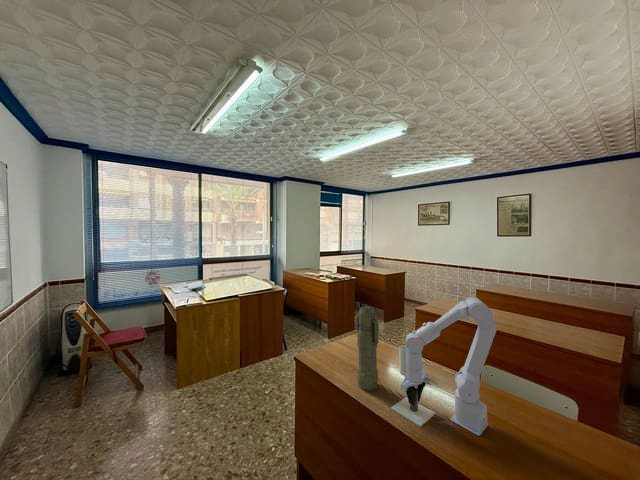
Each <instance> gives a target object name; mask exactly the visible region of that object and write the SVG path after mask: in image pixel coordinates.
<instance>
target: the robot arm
mask: <svg viewBox="0 0 640 480" xmlns="http://www.w3.org/2000/svg"><path fill="white" fill-rule="evenodd" d="M470 318H471V319H472V320H474V322H475V323H476V326H477V329H476V331H475V334H474V337H473V340H472V342H471V346H470V349H469V352H468V355H467V357H466V359H465V362H464V365H463V366H462V367H460V369H459V371H458V372H457V373H456V374H455V375H454V382H455V383H454V384H455V385H456V390H455V391H454V414H453V416H451V418H450V421H451V422H453V423H454V424H457V425H458V426H460V427H461V428H463V429H465V430H467V431H469V432H471V433H472V434H474V435H476V436H481V435H482V433H483V432H485V430H486V428H487V427H488V426H489V423H488V406H487V405H486V404H485V403H484V402H482V401H481V400H480V398H481V396H480V387H481V374H482V371H483V368H484V365H485V362H486V360H487V358H488V355H489V352H490V349H491V348H492V347H491V346H492V344H493V340H494V338H495V336H496V333H497V329H498V328H497V324H496V321H495V318H494V312H493V311H492V310H491V309H490V307H488V306H487V304H485V303H483V302H482V300H481V299H480V298H478V297H476V296H467V297H466V298H465V299H464V300H461V301H459V302H458V303H457V304H456V305H454V307H452V308H451V309H449V310H448V311H447V312H446V313H444V314H443V315H442V316H441V317H439V318H438V319H437V320H435V321H434V322H433V321H428V322H427V323H426V322H424V323H422V326H420V327H419V328H418V329H416V330H415V329H414V330H413V331H412V332H410V333H408V334H407V335H406V336H405V346H406V347H407V348H406V351H407V352H406V373H405V374H404V375H403V377H404V379H403V381H402V382H401V383H400V389H401V390H402V391H403V392H405V393H406V397H407V398H408V401H409V403H410V404H411V405H413V406H414V405H415V401H416V394H417V392H418V403H419V402H420V401H421V397H422V393H423V390H424V389H425V387H426V385H427V384H426V382H425V381H424V380H425V379H426V378H427V371H424V370H423V355H422V354H423V353H422V351H423V349H424V346H427V345H428V344H429V343H431V342H432V341H434V340H436V339H437V338H439V337H440V336H441V331H442V330H443V329H445V328H448V327H449V326H451V325H452V324H454V323H456V322H457V321H458V320H464V321H471V319H470ZM414 385H418V389H417V388H415V387H414Z"/></svg>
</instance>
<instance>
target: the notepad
mask: <svg viewBox="0 0 640 480" xmlns="http://www.w3.org/2000/svg"><path fill="white" fill-rule="evenodd" d="M391 411H394V412H396V413H397V414H399V415H401V416H402V417H404V419H407V420H409V421H410V422H412V423H413V424H415V425H416V426H418V427H420V428H421V427H422V426H423V425H424V424H425V423H427V422H428V421H430V420H431V418H432V417H434V416H435V414H436V412H434V411H433V410H431V409H428V408H427V407H425V406H423V405H422V404H420V403H418V411H417V412H413V411H411V410H410V403H409V401H408V397H407V396H406V397H404V398H403V399H402V398H401V400H399V401H398V402H397V403H394V405H392V406H391Z"/></svg>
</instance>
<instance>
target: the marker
mask: <svg viewBox="0 0 640 480" xmlns="http://www.w3.org/2000/svg"><path fill="white" fill-rule="evenodd" d="M414 387H415V388H417V389H418V385H414ZM418 404H419V402H418V392H417V394H416V401H415V405H414V406H413V405H411V404H410V410H411V411H413V412H417V411H418Z"/></svg>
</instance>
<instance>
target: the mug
mask: <svg viewBox="0 0 640 480" xmlns="http://www.w3.org/2000/svg"><path fill="white" fill-rule="evenodd" d="M406 348H407V347H406V345H400V346H399V347H398V357H399V359H398V362H399V363H398V365H399V367H398V369H399V374H401V375H402V376H404V374H405V373H406V352H407V351H406Z"/></svg>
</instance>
